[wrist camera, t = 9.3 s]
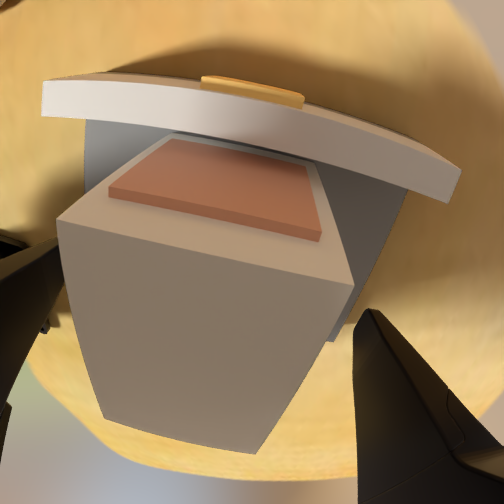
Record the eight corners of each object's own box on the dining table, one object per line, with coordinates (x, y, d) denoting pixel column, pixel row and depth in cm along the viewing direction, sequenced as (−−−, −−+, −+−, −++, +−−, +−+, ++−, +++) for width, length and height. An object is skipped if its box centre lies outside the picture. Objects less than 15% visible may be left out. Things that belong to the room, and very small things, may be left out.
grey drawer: (100, 274, 14) (66, 325, 11) (105, 63, 9) (44, 70, 6) (331, 326, 14) (339, 388, 11) (415, 130, 9) (466, 159, 6)
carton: (265, 316, 13) (255, 454, 8) (158, 292, 13) (104, 418, 8) (316, 156, 9) (359, 274, 4) (172, 126, 9) (54, 207, 4)
